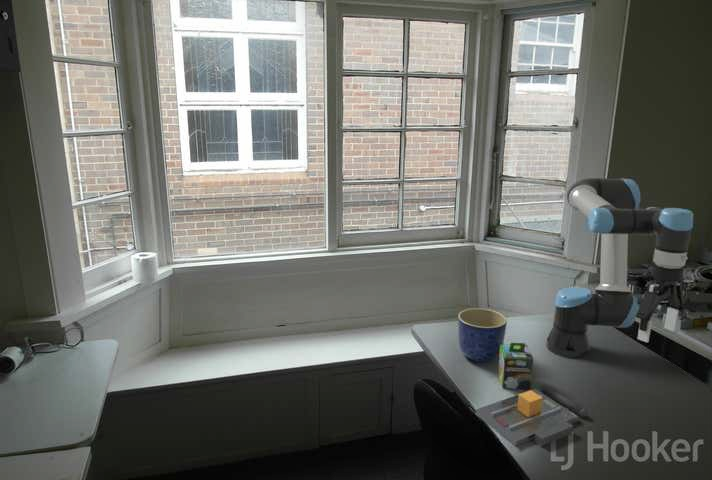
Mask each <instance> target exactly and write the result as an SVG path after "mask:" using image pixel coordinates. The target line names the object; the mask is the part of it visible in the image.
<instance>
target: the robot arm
mask: <svg viewBox="0 0 712 480" xmlns="http://www.w3.org/2000/svg"><path fill="white" fill-rule="evenodd" d="M566 200H567V202H568V205H569V206H570V207H571V208H572V209H573V210H576V211H577V212H582V214H583V215H585V216H586V218H588V221H587V222H588V227H589V230H590V232H592V233H593V234H595V233H596V234H600V235H601V236H600V237H601V239H600V271H599V272H600V276H599V279H600V280H599V285H598V286H596V287H595V289H594V293H593V292H592V290H590V289H588V288H586V287H581V286H571V287H569V286H568V287H565V288H562V289H560V290H559V291H558V292H557V294H556V297H555V302H554V305H555V306H554V307H555V308H554V314H553V315H554V316H553V326H552V328H551V331H550V332H549V335H548V336H547V338H546V343H545V344H546V345H545V346H546V348H547V349H548V350H549V351H550V352H551V353H553V354H556V355H558V356H561V357H564V358H571V359H581V358H582V359H583V358H586V357H588V356H589V355H590V352H591V345H590V341H589V337H588V336H589V335H588V329H589V328H588V327H589V326H595V327H596V326H597V327H610V328H612V327H613V328H628V327H630V326H632V325H633V324H634V323H635V321H636V319H637V318H638V319H640V320H639V326H638V332H637V337H636V339H637V340H639V341H641V342H645V343H649V342H650V335H651V329H652V322H653V320H652V317H653V316H654V315H655V314H654V313H655V312H656V311H657V309H658V307H659V305H660V304H661V302H664V301H665V299H666V300H667V303H668V306H669V307H667V309H666V314H665V321H664V329H666V330H669V331H671V332H676V328H677V322H678V317H679V310H680V311H683V310H684V306H685V295H684V289H683V288H684V286H683V283H684V281H683V280H684V273H685V265H686V261H687V260H688V258H689V257H688V256H687V255H688V250H689V245H690V240H691V234H692V229H693V226H694V222H693V221H694V213H693V211H691V210H689V209H684V208H679V207H678V208H677V207H664V208H662V207H656V206H651V207H646V208H639V207H640V203H641V192H640V188H639V185H638V184H637V183H636V181H634V180H633V179H629V178H621V177H620V178H619V177H618V178H611V177H610V178H609V177H606V178H605V177H604V178H603V177H601V178H600V177H599V178H598V177H596V178H595V177H589V178H584V179H580V180H578V181H576V182H574V183H573V184H572V185H571V186H570V188H568V190H567V194H566ZM629 235H633V236H634V235H636V236H637V235H640V236H654V237H655V238H656V241H655V245H654V252H653V258H652V262H653V263H652V264H651V269H650V270H651V272H650V276H651V277H652V278H654V283H653V284H651V283H648V284H647V285H646V289H645V292H644V295H643V297H642V300H641V303H640V304H638V299H637V297H636V296H635V295H632V290H631V288H629V286H628V285H627V284H628V279H627V278H628V246H629V245H628V243H629V242H628V241H629V240H628V239H629V237H628V236H629Z"/></svg>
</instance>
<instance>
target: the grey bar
mask: <svg viewBox="0 0 712 480" xmlns="http://www.w3.org/2000/svg"><path fill="white" fill-rule="evenodd" d="M573 430H574V425H573V424H572V423H571V424H570V423H568V422H567V421H565V422H563V423H560V424H558V425H555V426H553V427H550V428H548V429H546V430H543V431H541V432H538V433H536V434H535V439H533V440H534V443H536V445H539V447H544V446H546V445H549V444H552V443H553V442H555V441H558V440H560V439H562V438H565V437H567V436H569V435H572V434H573Z"/></svg>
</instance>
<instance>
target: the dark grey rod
mask: <svg viewBox="0 0 712 480" xmlns="http://www.w3.org/2000/svg"><path fill="white" fill-rule="evenodd" d="M541 393H543V394H544V395H546V396H547V397H549V398H550V399H552V400H554V401H555V402H557V403H558V404H560V405H561V406H563V407H565V408H566V409H568V410H569V411H571V412H572V413H574V414H576V415H577V416H578V417H581V418H585V417H586V416H587V413H588V412H587V410H586V409H585V408H583V407H582V406H580V405H578V403H576V402H574V401H572V400H570V399H569V398H567V397H565V396H563V395H562V394H561V393H558V392H557V391H556V390H554V389H553V388H551V387H549V386H547V385H543V386H542V388H541Z"/></svg>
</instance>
